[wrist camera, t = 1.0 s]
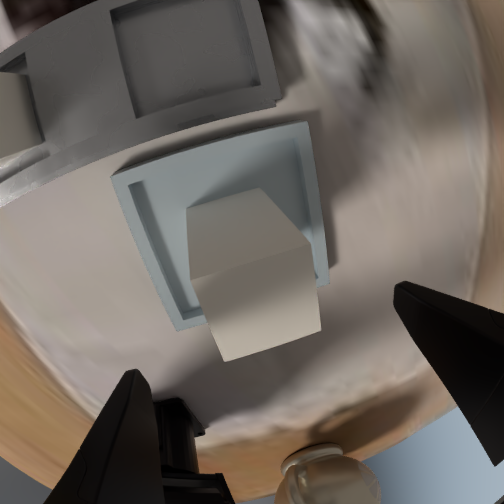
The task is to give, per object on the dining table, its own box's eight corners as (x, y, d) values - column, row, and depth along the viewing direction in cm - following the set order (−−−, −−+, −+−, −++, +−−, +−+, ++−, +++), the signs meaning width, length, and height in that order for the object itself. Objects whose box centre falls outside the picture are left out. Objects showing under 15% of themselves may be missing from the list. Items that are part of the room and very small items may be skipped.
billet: (273, 252, 18) (321, 330, 12) (207, 272, 17) (224, 362, 11) (259, 187, 16) (310, 243, 10) (185, 208, 16) (190, 280, 9)
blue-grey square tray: (322, 274, 20) (329, 283, 19) (176, 319, 19) (176, 331, 18) (299, 119, 15) (307, 121, 14) (115, 172, 14) (110, 176, 13)
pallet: (270, 106, 14) (283, 107, 13) (-7, 210, 13) (-25, 224, 11) (237, -25, 11) (245, -42, 9) (-40, 94, 9) (-61, 97, 7)
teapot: (366, 443, 37) (408, 524, 23) (291, 481, 39) (320, 561, 24) (326, 410, 29) (386, 538, 14) (224, 459, 30) (254, 578, 16)
